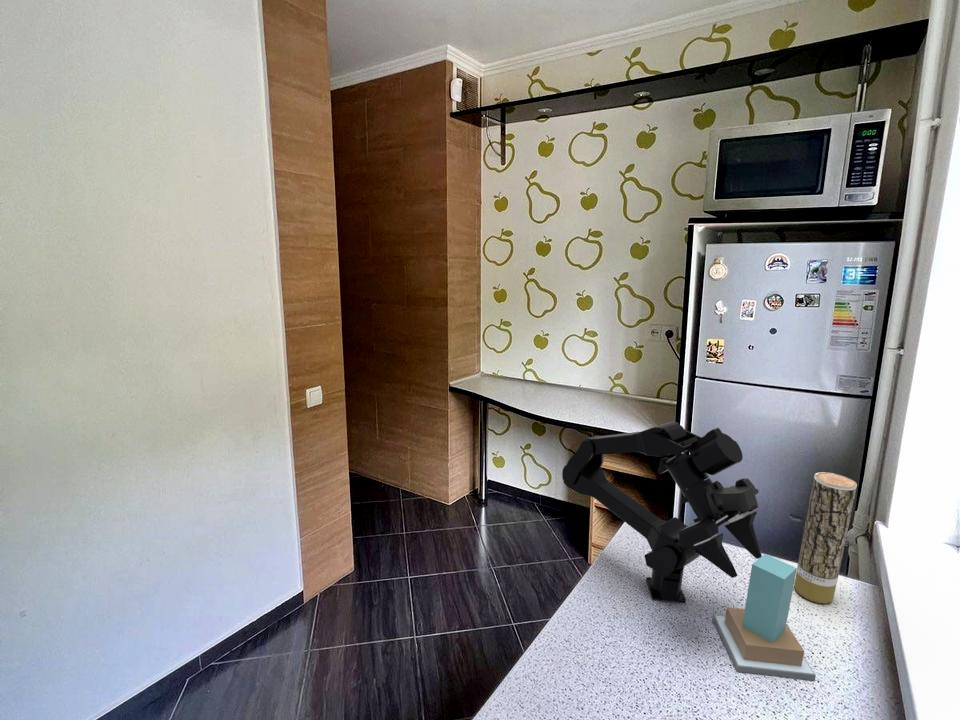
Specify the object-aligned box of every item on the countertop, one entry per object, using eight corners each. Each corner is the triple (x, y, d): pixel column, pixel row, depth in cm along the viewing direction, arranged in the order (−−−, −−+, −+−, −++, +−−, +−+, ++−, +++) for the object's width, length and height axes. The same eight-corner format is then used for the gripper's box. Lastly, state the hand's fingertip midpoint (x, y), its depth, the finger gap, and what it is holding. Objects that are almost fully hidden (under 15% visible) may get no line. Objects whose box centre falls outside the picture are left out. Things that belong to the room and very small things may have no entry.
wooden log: (832, 610, 98) (856, 491, 93) (791, 595, 102) (812, 480, 97) (834, 592, 103) (857, 479, 98) (795, 578, 107) (815, 469, 102)
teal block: (742, 625, 88) (752, 564, 85) (755, 613, 91) (765, 553, 88) (772, 643, 84) (784, 579, 81) (785, 630, 87) (796, 568, 84)
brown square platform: (712, 619, 95) (715, 600, 94) (780, 626, 93) (784, 607, 92) (736, 671, 83) (740, 650, 82) (814, 680, 82) (819, 659, 81)
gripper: (703, 480, 83) (763, 574, 77) (754, 455, 94) (810, 535, 88) (655, 505, 91) (706, 592, 85) (708, 478, 102) (756, 553, 96)
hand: (747, 567), depth 88 cm, fingers open, 9 cm apart
